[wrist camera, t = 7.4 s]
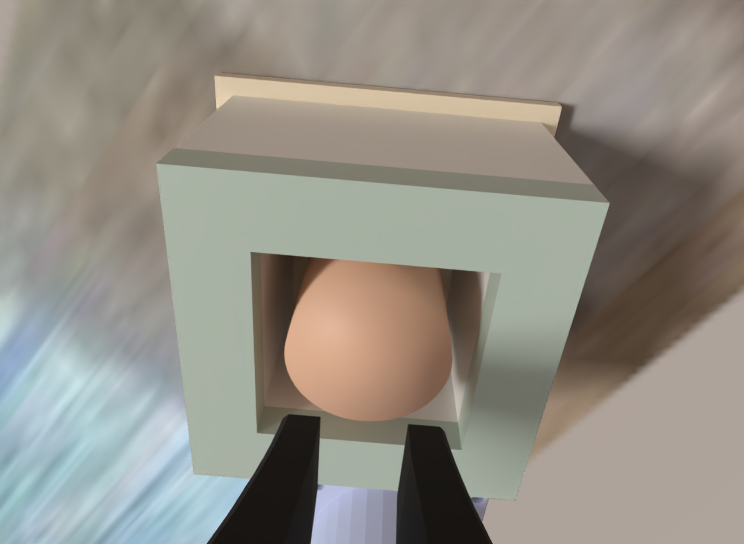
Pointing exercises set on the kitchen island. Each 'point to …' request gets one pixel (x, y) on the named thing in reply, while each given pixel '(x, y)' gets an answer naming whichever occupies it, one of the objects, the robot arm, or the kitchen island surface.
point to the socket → (379, 245)
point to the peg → (369, 338)
